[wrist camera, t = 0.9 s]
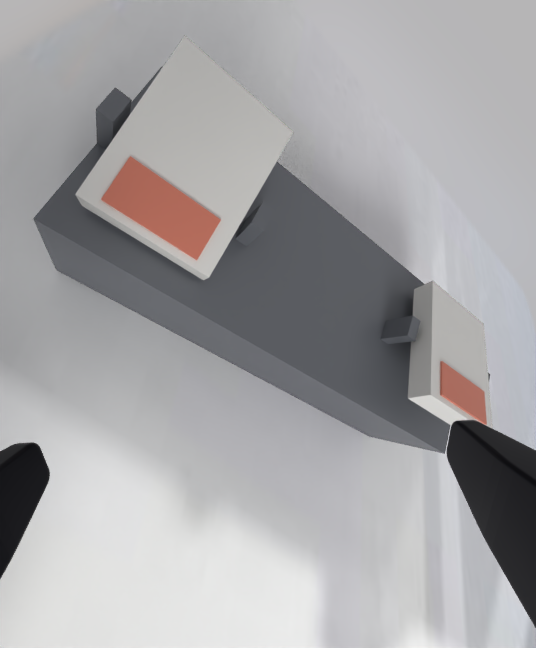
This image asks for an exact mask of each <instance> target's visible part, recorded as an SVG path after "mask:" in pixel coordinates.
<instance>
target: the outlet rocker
mask: <svg viewBox="0 0 536 648" xmlns="http://www.w3.org/2000/svg"><path fill="white" fill-rule="evenodd" d="M413 316H415V317H416V318H417V319H419V320H420V325H419V329H418V333H417V337H416V341H412V342H411V351H410V368H409V385H408V399H410V400H411V401H413V402H414V403H416V404H418V405H419V406H421V407H422V408H424V409H426V410H427V411H429V412H430V413H432V414H433V415H435V416H437V417H438V418H440V419H441V420H443V421H445V422H446V423H448V424H449V425H451V426H452V424H453V422H455V421H457V420H476V421H478V422H480V423H482V424H484V425H486V426H488V427H490V428H492V416H491V404H490V392H489V380H488V368H487V356H486V344H485V333H484V324H483V323H482V322H481V321H480V320H479V319H477V318H476V317H475V316H474V315H473V314H472V313H470V312H469V311H468V310H467V309H466V308H465V307H463V306H462V305H461V304H460V303H459V302H457V301H456V300H455V299H454V298H453V297H452V296H450V295H449V294H448V293H447V292H446V291H444V290H443V289H442V288H441V287H440V286H439V285H437V284H436V283H435V282H434V281H431V282H429V283H427V284H424V285H422V286H420V287H418V288H416V289H414V299H413ZM492 429H493V428H492Z"/></svg>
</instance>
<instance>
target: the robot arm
mask: <svg viewBox="0 0 536 648" xmlns="http://www.w3.org/2000/svg"><path fill="white" fill-rule="evenodd" d="M447 458H448V461H449V464H450V466H451V468H452V470H453V472H454V475H455V477H456V479H457V481H458V483H459V486H460V488H461V490H462V492H463V494H464V496H465V499H466V501H467V503H468V505H469V507H470V509H471V512H472V514H473V516H474V518H475V520H476V522H477V524H478V527H479V529H480V531H481V533H482V535H483V537H484V538H485V540H486V542H487V544H488V546H489V548H490V549H491V551H492V553H493V555H494V556H495V558H496V560H497V562H498V563H499V565H500V567H501V569H502V570H503V572H504V574H505V575H506V577H507V579H508V581H509V582H510V584H511V586H512V588H513V589H514V591H515V593H516V595H517V596H518V598H519V600H520V602H521V603H522V605H523V607H524V609H525V610H526V612H527V614H528V615H529V617H530V619H531V621H532V622H533V624H534V626H535V628H536V450H534V449H532V448H530V447H528V446H526V445H524V444H522V443H520V442H518V441H516V440H514V439H512V438H510V437H508V436H506V435H504V434H502V433H500V432H498V431H496V430H494V429H492V428H490V427H488V426H486V425H484V424H482V423H480V422H478V421H476V420H457V421H455V422H453V424H452V426H451V430H450V436H449V441H448V446H447ZM49 476H50V472H49V468H48V466H47V463H46V461H45V458H44V456H43V453H42V451H41V448H40V446H39V445H37V444H36V443H18V444H14V445H12V446H10V447H8V448H6V449H4V450H2V451H0V579H1V577H2V575H3V573H4V572H5V570H6V568H7V566H8V564H9V563H10V561H11V559H12V557H13V555H14V553H15V551H16V549H17V547H18V545H19V543H20V541H21V539H22V537H23V534H24V532H25V530H26V528H27V526H28V524H29V522H30V520H31V518H32V516H33V513H34V511H35V509H36V507H37V505H38V503H39V501H40V499H41V497H42V494H43V492H44V490H45V488H46V486H47V484H48V481H49Z"/></svg>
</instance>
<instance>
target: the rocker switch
mask: <svg viewBox="0 0 536 648" xmlns="http://www.w3.org/2000/svg"><path fill="white" fill-rule="evenodd" d="M293 133H294V132H293V131H292V130H291V129H290V128H289V127H288V126H287V125H285V124H284V123H283V122H282V121H281V120H280V119H279V118H278V117H276V116H275V115H274V114H273V113H272V112H271V111H270V110H269V109H267V108H266V107H265V106H264V105H263V104H262V103H261V102H260V101H258V100H257V99H256V98H255V97H254V96H253V95H252V94H251V93H249V92H248V91H247V90H246V89H245V88H244V87H243V86H242V85H240V84H239V83H238V82H237V81H236V80H235V79H234V78H233V77H231V76H230V75H229V74H228V73H227V72H226V71H225V70H224V69H222V68H221V67H220V66H219V65H218V64H217V63H216V62H215V61H213V60H212V59H211V58H210V57H209V56H208V55H207V54H206V53H204V52H203V51H202V50H201V49H200V48H199V47H198V46H197V45H195V44H194V43H193V42H192V41H191V40H190V39H189V38H188V37H187V36H185V35H184V37H183V38H182V40H181V41H180V43H179V44H178V46H177V47H176V49H175V50H174V51H173V53H172V54H171V56H170V57H169V59H168V60H167V62H166V63H165V64H164V66H163V67H162V69H161V70H160V72H159V73H158V75H157V76H156V78H155V79H154V80H153V82H152V83H151V85H150V86H149V88H148V89H147V91H146V92H145V94H144V95H143V96H142V98H141V99H140V101H139V102H138V104H137V105H136V107H135V108H134V110H133V111H132V112H131V114H130V115H129V117H128V118H127V120H126V121H125V123H124V124H123V126H122V127H121V128H120V130H119V131H118V133H117V134H116V136H115V137H114V139H113V140H112V141H111V143H110V144H109V146H108V147H107V149H106V150H105V152H104V153H103V155H102V156H101V157H100V159H99V160H98V162H97V163H96V165H95V166H94V168H93V169H92V171H91V172H90V173H89V175H88V176H87V178H86V179H85V181H84V182H83V184H82V185H81V187H80V188H79V189H78V191H77V192H76V194H75V195H76V197H77V198H78V200H79V202H80V204H81V205H82V206H83V207H85V208H86V209H88V210H90V211H91V212H93V213H94V214H96V215H98V216H99V217H101V218H103V219H104V220H106V221H107V222H109V223H111V224H112V225H114V226H116V227H117V228H119V229H120V230H122V231H124V232H125V233H127V234H129V235H130V236H132V237H134V238H135V239H137V240H138V241H140V242H142V243H143V244H145V245H147V246H148V247H150V248H151V249H153V250H155V251H156V252H158V253H160V254H161V255H163V256H164V257H166V258H168V259H169V260H171V261H173V262H174V263H176V264H178V265H179V266H181V267H182V268H184V269H186V270H187V271H189V272H191V273H192V274H194V275H195V276H197V277H199V278H200V279H202V280H205V279H207V278H209V277H210V275H211V273H212V272H213V270H214V268H215V267H216V265H217V263H218V261H219V260H220V258H221V256H222V255H223V253H224V251H225V249H226V248H227V246H228V244H229V243H230V241H231V239H232V237H233V236H234V234H235V232H236V231H237V229H238V227H239V225H240V224H241V222H242V220H243V219H244V217H245V215H246V213H247V212H248V210H249V208H250V207H251V205H252V203H253V201H254V200H255V198H256V196H257V195H258V193H259V191H260V189H261V188H262V186H263V184H264V183H265V181H266V179H267V177H268V176H269V174H270V172H271V171H272V169H273V167H274V165H275V164H276V162H277V160H278V159H279V157H280V155H281V153H282V152H283V150H284V148H285V147H286V145H287V143H288V141H289V140H290V138H291V136H292V135H293Z"/></svg>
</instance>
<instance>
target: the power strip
mask: <svg viewBox="0 0 536 648" xmlns="http://www.w3.org/2000/svg"><path fill="white" fill-rule="evenodd" d="M161 69H162V67H161V68H160V69H159V71H158V72H157V73H156V74H155V75H154V77H153V78H152V79H151V80H150V81H149V82H148V84H147V85H146V86H145V87H144V88H143V90H142V91H141V92H140V93H139V94H138V95H137V97H136V98H135V99H134V100H133V101H132V100H131V99H130V98H128V97H127V96H126V95H124V94H123V93H122V92H120V91H119V90H118V89H117V88H114V90H113V91H112V92H111V93H110V94H109V95H108V96H107V97H106V99H105V100H104V101H103V102H102V103H101V104H100V105H99V106H98V107H97V109H96V127H97V144H96V145H95V146H94V148H93V149H92V150H91V151H90V152H89V153H88V155H87V156H86V157H85V158H84V159H83V161H82V162H81V163H80V164H79V165H78V167H77V168H76V169H75V170H74V171H73V172H72V174H71V175H70V176H69V177H68V178H67V180H66V181H65V182H64V183H63V184H62V185H61V187H60V188H59V189H58V190H57V191H56V193H55V194H54V195H53V196H52V197H51V198H50V200H49V201H48V202H47V203H46V204H45V206H44V207H43V208H42V209H41V210H40V212H39V213H38V214H37V215H36V216H35V217H34V221H35V223H36V226H37V228H38V230H39V232H40V235H41V237H42V239H43V241H44V244H45V246H46V248H47V250H48V253H49V255H50V257H51V259H52V261H53V264H54V266H55V268H56V270H58V271H60V272H61V273H63V274H65V275H67V276H69V277H71V278H73V279H75V280H76V281H78V282H80V283H82V284H84V285H86V286H88V287H90V288H91V289H93V290H95V291H97V292H99V293H101V294H103V295H105V296H107V297H108V298H110V299H112V300H114V301H116V302H118V303H120V304H122V305H123V306H125V307H127V308H129V309H131V310H133V311H135V312H137V313H138V314H140V315H142V316H144V317H146V318H148V319H150V320H152V321H154V322H155V323H157V324H159V325H161V326H163V327H165V328H167V329H169V330H170V331H172V332H174V333H176V334H178V335H180V336H182V337H184V338H185V339H187V340H189V341H191V342H193V343H195V344H197V345H199V346H200V347H202V348H204V349H206V350H208V351H210V352H212V353H214V354H216V355H217V356H219V357H221V358H223V359H225V360H227V361H229V362H231V363H232V364H234V365H236V366H238V367H240V368H242V369H244V370H246V371H247V372H249V373H251V374H253V375H255V376H257V377H259V378H261V379H263V380H264V381H266V382H268V383H270V384H272V385H274V386H276V387H278V388H279V389H281V390H283V391H285V392H287V393H289V394H291V395H293V396H294V397H296V398H298V399H300V400H302V401H304V402H306V403H308V404H309V405H311V406H313V407H315V408H317V409H319V410H321V411H323V412H325V413H326V414H328V415H330V416H332V417H334V418H336V419H338V420H340V421H341V422H343V423H345V424H347V425H349V426H351V427H353V428H355V429H356V430H358V431H360V432H362V433H364V434H366V435H368V436H370V437H374V438H378V439H383V440H387V441H391V442H396V443H400V444H405V445H409V446H413V447H418V448H422V449H427V450H431V451H435V452H440V453H444V454H445V450H446V445H447V440H448V435H449V429H450V425H449V424H448V423H446V422H445V421H443V420H441V419H440V418H438V417H437V416H435V415H433V414H432V413H430V412H429V411H427V410H426V409H424V408H422V407H421V406H419V405H418V404H416V403H414V402H413V401H411V400H410V399H408V385H409V368H410V351H411V342H412V341H416V337H417V333H418V329H419V325H420V320H419V319H417V318H416V317H415V316H413V299H414V289H416V288H418V287H420V286H422V285H424V283H422V282H421V281H420V280H419V279H418V278H416V277H415V276H414V275H413V274H412V273H410V272H409V271H408V270H407V269H406V268H404V267H403V266H402V265H401V264H400V263H398V262H397V261H396V260H395V259H394V258H392V257H391V256H390V255H389V254H388V253H386V252H385V251H384V250H383V249H382V248H380V247H379V246H378V245H377V244H376V243H374V242H373V241H372V240H371V239H369V238H368V237H367V236H366V235H365V234H363V233H362V232H361V231H360V230H359V229H357V228H356V227H355V226H354V225H353V224H351V223H350V222H349V221H348V220H347V219H345V218H344V217H343V216H342V215H341V214H339V213H338V212H337V211H336V210H335V209H333V208H332V207H331V206H330V205H329V204H327V203H326V202H325V201H324V200H323V199H321V198H320V197H319V196H318V195H317V194H315V193H314V192H313V191H312V190H310V189H309V188H308V187H307V186H306V185H304V184H303V183H302V182H301V181H300V180H298V179H297V178H296V177H295V176H294V175H292V174H291V173H290V172H289V171H288V170H286V169H285V168H284V167H283V166H282V165H280V164H279V163H278V162H276V164H275V165H274V167H273V169H272V171H271V172H270V174H269V176H268V177H267V179H266V181H265V183H264V184H263V186H262V188H261V189H260V191H259V193H258V195H257V196H256V198H255V200H254V201H253V203H252V205H251V207H250V208H249V210H248V212H247V213H246V215H245V217H244V219H243V220H242V222H241V224H240V225H239V227H238V229H237V231H236V232H235V234H234V236H233V237H232V239H231V241H230V243H229V244H228V246H227V248H226V249H225V251H224V253H223V255H222V256H221V258H220V260H219V261H218V263H217V265H216V267H215V268H214V270H213V272H212V273H211V275H210V277H209V278H207V279H205V280H202V279H200V278H199V277H197V276H195V275H194V274H192V273H191V272H189V271H187V270H186V269H184V268H182V267H181V266H179V265H178V264H176V263H174V262H173V261H171V260H169V259H168V258H166V257H164V256H163V255H161V254H160V253H158V252H156V251H155V250H153V249H151V248H150V247H148V246H147V245H145V244H143V243H142V242H140V241H138V240H137V239H135V238H134V237H132V236H130V235H129V234H127V233H125V232H124V231H122V230H120V229H119V228H117V227H116V226H114V225H112V224H111V223H109V222H107V221H106V220H104V219H103V218H101V217H99V216H98V215H96V214H94V213H93V212H91V211H90V210H88V209H86V208H85V207H83V206H82V205H81V204H80V202H79V200H78V198H77V197H76V195H75V194H76V192H77V191H78V189H79V188H80V187H81V185H82V184H83V182H84V181H85V179H86V178H87V176H88V175H89V173H90V172H91V171H92V169H93V168H94V166H95V165H96V163H97V162H98V160H99V159H100V157H101V156H102V155H103V153H104V152H105V150H106V149H107V147H108V146H109V144H110V143H111V141H112V140H113V139H114V137H115V136H116V134H117V133H118V131H119V130H120V128H121V127H122V126H123V124H124V123H125V121H126V120H127V118H128V117H129V115H130V114H131V112H132V111H133V110H134V108H135V107H136V105H137V104H138V102H139V101H140V99H141V98H142V96H143V95H144V94H145V92H146V91H147V89H148V88H149V86H150V85H151V83H152V82H153V80H154V79H155V78H156V76H157V75H158V73H159V72H160V70H161ZM131 101H132V103H131ZM489 378H490V374H489V373H488V380H489Z"/></svg>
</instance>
